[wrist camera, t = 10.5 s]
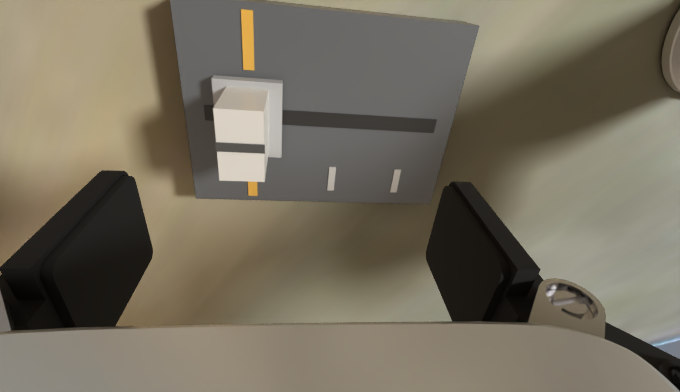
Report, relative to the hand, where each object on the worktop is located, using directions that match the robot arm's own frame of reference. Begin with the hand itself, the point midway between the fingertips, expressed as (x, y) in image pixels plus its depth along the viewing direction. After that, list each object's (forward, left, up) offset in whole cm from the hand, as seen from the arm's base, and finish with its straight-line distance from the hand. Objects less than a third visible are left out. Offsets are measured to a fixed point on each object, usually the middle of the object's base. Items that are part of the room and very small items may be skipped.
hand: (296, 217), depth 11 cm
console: (-3, +3, -22) cm, 22 cm away
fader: (+3, +3, -19) cm, 19 cm away
